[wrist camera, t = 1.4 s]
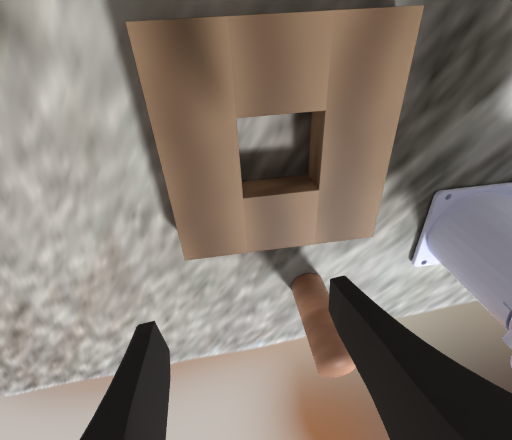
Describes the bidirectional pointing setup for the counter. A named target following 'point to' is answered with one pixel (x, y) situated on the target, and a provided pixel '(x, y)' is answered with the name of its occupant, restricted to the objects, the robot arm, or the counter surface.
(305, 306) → the terracotta peg
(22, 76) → the counter surface
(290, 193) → the walnut socket plate
